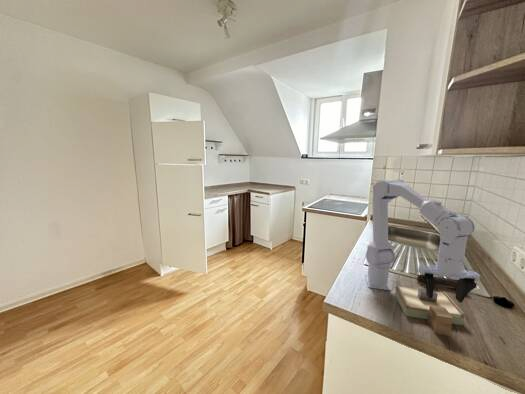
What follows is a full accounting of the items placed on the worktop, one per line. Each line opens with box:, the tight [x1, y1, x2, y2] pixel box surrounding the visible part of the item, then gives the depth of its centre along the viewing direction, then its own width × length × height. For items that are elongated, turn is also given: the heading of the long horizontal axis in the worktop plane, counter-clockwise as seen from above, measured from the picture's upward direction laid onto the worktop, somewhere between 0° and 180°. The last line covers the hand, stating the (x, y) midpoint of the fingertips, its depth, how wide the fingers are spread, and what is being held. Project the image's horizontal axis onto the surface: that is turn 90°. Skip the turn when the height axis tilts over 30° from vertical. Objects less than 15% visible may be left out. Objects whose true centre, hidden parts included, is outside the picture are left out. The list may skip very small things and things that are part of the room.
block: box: [427, 305, 453, 337], centre depth 69 cm, size 5×4×6 cm
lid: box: [399, 286, 461, 318], centre depth 77 cm, size 12×14×4 cm
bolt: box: [416, 273, 457, 290], centre depth 92 cm, size 6×5×15 cm
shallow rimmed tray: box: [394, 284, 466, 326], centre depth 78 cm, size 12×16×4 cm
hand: (443, 298), depth 67 cm, fingers open, 7 cm apart
